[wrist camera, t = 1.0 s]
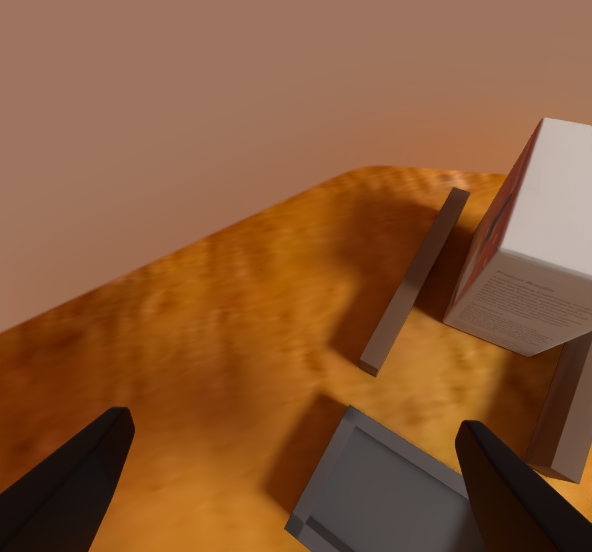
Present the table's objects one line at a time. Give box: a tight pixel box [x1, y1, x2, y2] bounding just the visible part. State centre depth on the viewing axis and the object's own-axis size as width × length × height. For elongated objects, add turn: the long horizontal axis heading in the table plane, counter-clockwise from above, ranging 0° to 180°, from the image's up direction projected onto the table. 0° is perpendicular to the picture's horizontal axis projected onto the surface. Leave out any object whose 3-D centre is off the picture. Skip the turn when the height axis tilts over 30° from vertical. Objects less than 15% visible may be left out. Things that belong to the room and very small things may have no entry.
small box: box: [442, 118, 592, 357], centre depth 18 cm, size 8×6×10 cm
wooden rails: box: [359, 187, 592, 484], centre depth 21 cm, size 11×14×3 cm
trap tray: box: [284, 405, 487, 552], centre depth 17 cm, size 10×7×2 cm
